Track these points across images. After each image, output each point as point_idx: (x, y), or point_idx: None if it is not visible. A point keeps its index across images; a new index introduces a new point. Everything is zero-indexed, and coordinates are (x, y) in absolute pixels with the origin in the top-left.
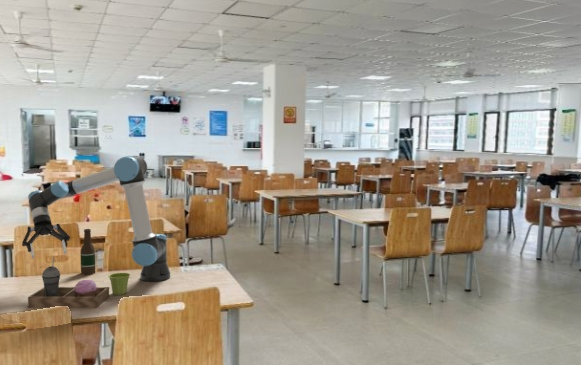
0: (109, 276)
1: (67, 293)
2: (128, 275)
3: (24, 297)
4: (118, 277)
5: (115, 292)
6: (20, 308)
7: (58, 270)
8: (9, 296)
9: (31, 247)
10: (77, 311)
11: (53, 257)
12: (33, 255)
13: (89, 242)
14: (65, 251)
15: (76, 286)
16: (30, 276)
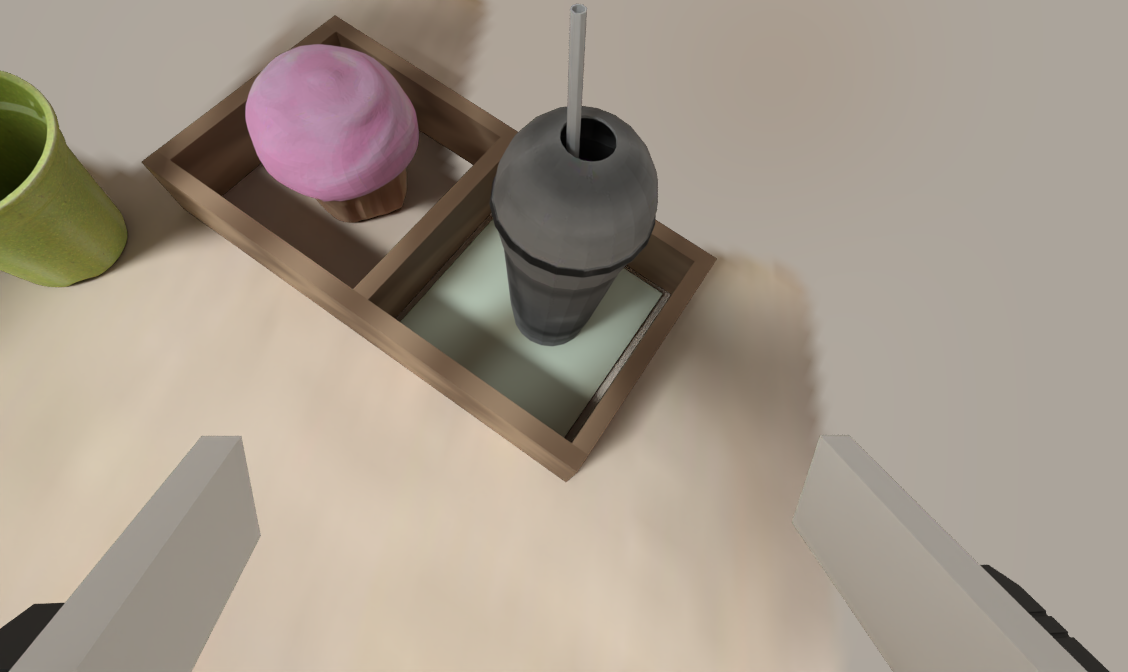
0: (42, 156)
1: (465, 189)
2: None
3: (705, 553)
4: None
5: (113, 204)
6: (733, 302)
7: (512, 141)
8: (811, 660)
9: (988, 586)
10: (462, 80)
11: (581, 9)
12: (832, 441)
13: None
14: (233, 450)
15: (405, 108)
16: None
